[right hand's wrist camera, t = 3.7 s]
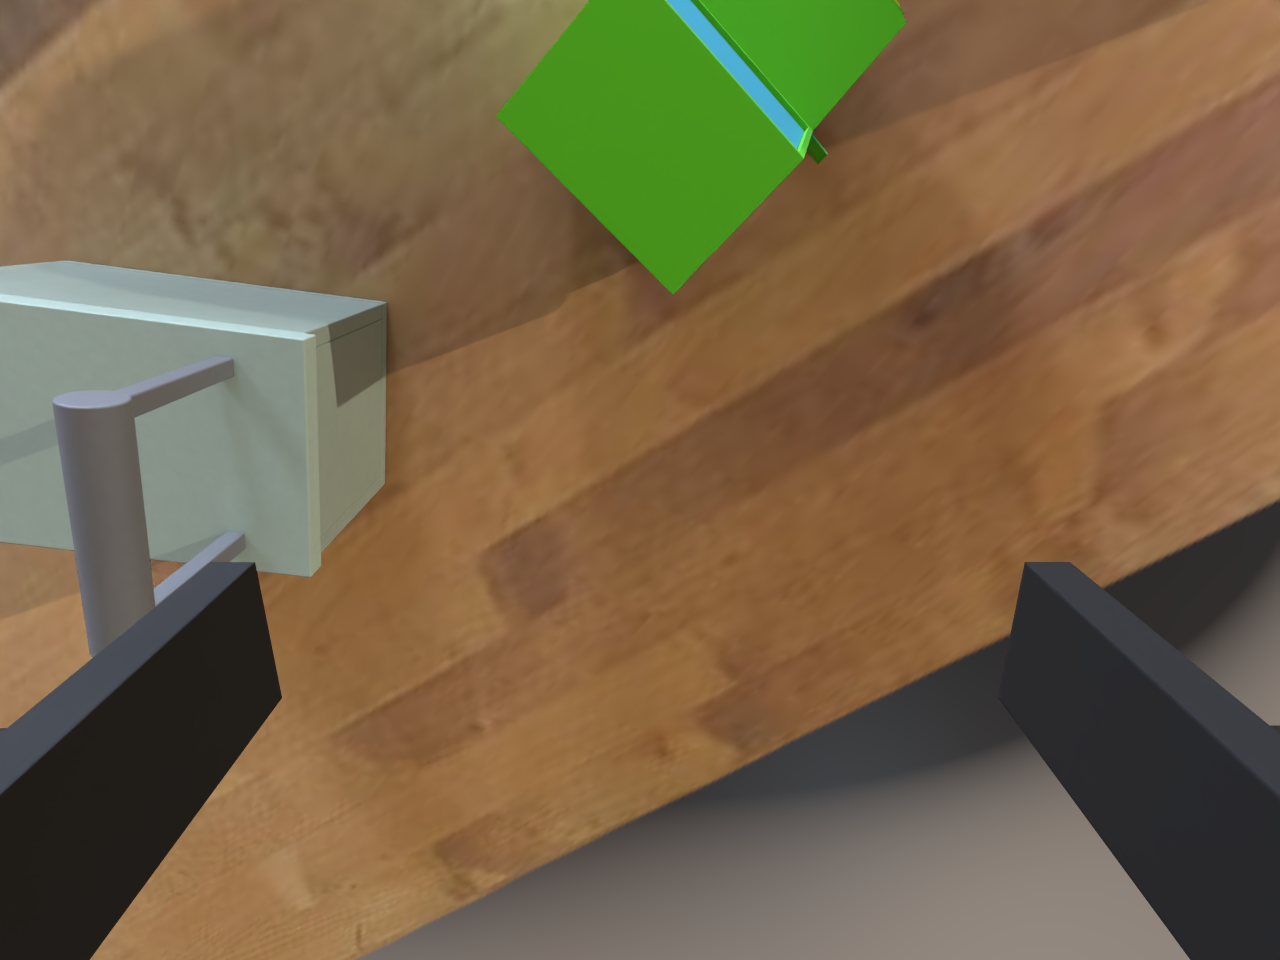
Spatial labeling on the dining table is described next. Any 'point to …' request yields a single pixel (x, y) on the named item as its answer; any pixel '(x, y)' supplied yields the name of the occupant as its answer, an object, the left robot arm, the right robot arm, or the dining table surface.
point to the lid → (155, 449)
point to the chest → (340, 324)
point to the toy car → (690, 111)
